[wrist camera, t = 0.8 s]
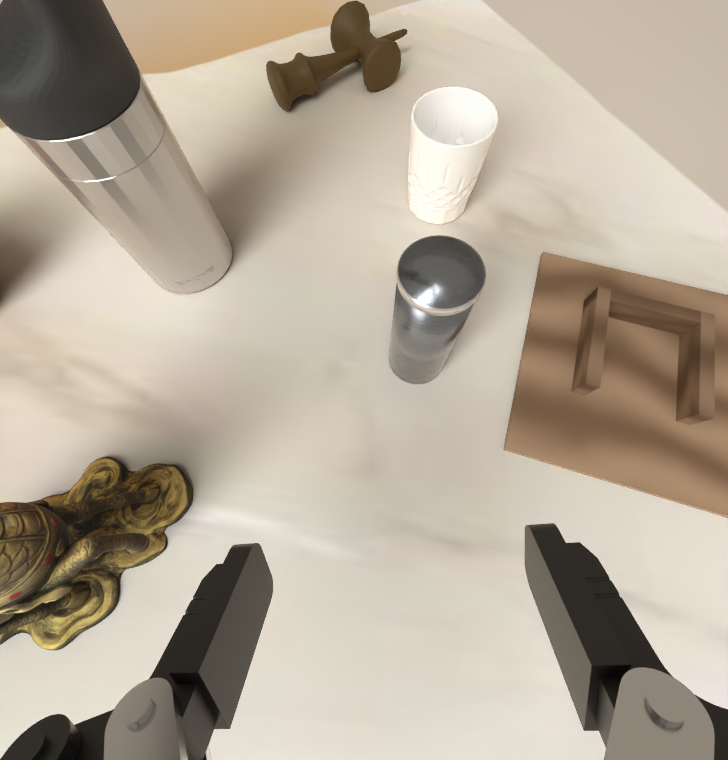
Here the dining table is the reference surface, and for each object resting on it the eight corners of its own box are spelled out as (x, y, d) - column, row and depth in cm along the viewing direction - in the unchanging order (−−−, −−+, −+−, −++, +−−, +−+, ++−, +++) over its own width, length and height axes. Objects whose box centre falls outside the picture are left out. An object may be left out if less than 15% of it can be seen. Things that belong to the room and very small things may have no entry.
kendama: (264, 90, 51) (387, 37, 53) (295, 135, 48) (423, 76, 51) (249, 39, 45) (389, -18, 48) (284, 86, 42) (429, 23, 45)
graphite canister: (378, 347, 37) (381, 256, 24) (426, 324, 37) (455, 223, 24) (405, 394, 35) (425, 323, 22) (454, 369, 36) (503, 286, 23)
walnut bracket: (743, 522, 31) (782, 523, 28) (503, 449, 33) (516, 443, 30) (738, 302, 38) (769, 284, 35) (540, 255, 40) (554, 235, 37)
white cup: (414, 170, 45) (425, 78, 35) (478, 185, 43) (507, 95, 34) (393, 219, 42) (400, 135, 33) (460, 236, 41) (487, 155, 32)
